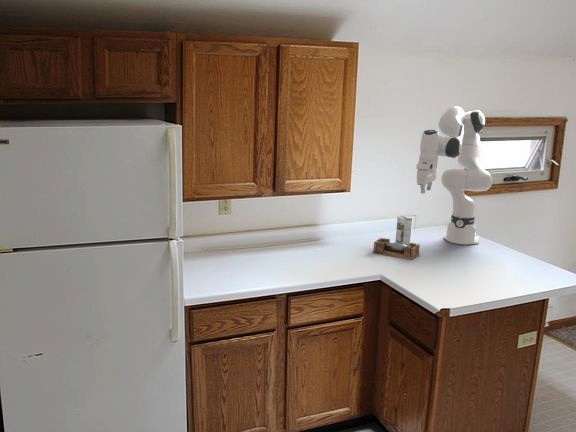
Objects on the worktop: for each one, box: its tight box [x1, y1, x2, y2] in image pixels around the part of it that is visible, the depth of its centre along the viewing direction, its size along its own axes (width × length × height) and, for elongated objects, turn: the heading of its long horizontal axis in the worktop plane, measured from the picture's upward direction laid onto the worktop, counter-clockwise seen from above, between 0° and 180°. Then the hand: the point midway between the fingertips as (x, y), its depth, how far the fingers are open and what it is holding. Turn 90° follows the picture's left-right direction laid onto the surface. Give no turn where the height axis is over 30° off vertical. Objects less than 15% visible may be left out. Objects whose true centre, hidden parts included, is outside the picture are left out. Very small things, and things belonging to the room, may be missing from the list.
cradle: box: [372, 237, 421, 261], centre depth 288 cm, size 10×20×6 cm, turn 60°
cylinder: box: [384, 241, 412, 253], centre depth 288 cm, size 4×14×4 cm, turn 60°
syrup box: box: [394, 215, 413, 245], centre depth 305 cm, size 6×6×14 cm
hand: (425, 191), depth 285 cm, fingers open, 8 cm apart
